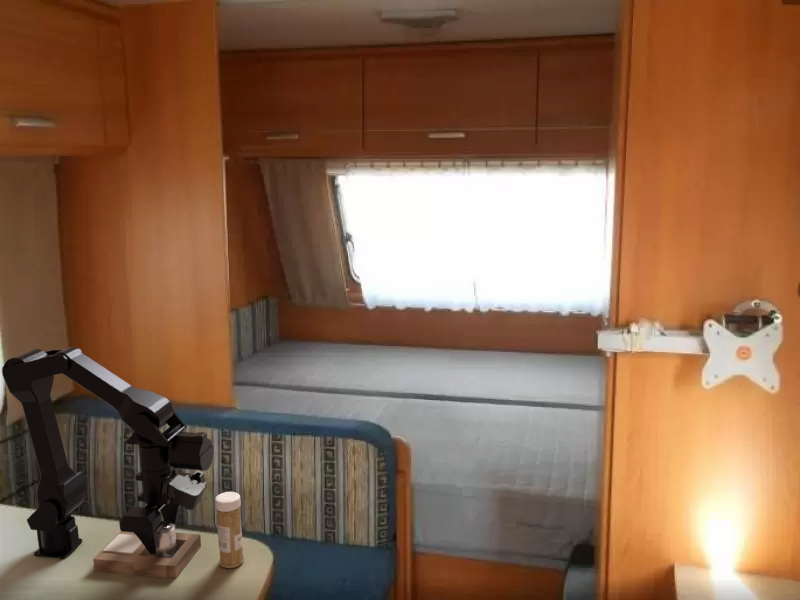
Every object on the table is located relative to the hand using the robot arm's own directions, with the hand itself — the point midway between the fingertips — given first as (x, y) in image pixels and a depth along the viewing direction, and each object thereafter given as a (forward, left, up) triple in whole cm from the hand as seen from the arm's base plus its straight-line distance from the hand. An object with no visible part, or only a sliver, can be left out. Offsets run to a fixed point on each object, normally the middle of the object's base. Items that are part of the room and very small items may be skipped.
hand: (162, 542), depth 143 cm
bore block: (-3, 0, -4) cm, 5 cm away
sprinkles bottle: (+13, +1, -4) cm, 14 cm away
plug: (0, 0, -4) cm, 4 cm away
